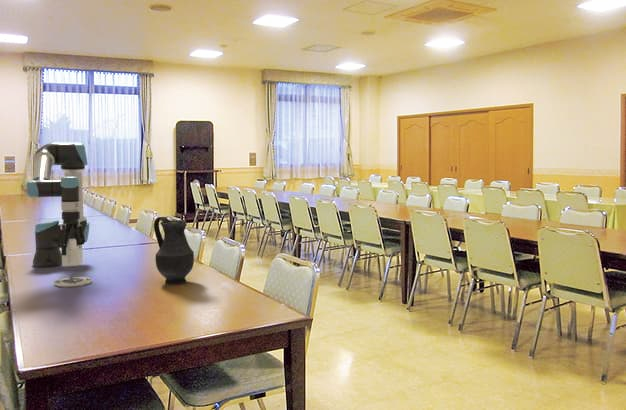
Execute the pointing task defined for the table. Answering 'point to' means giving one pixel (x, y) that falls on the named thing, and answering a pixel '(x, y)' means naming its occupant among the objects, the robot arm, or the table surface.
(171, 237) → the pitcher
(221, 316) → the table surface
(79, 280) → the flange
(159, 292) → the table surface
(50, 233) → the robot arm
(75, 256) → the medicine bottle
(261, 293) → the table surface
